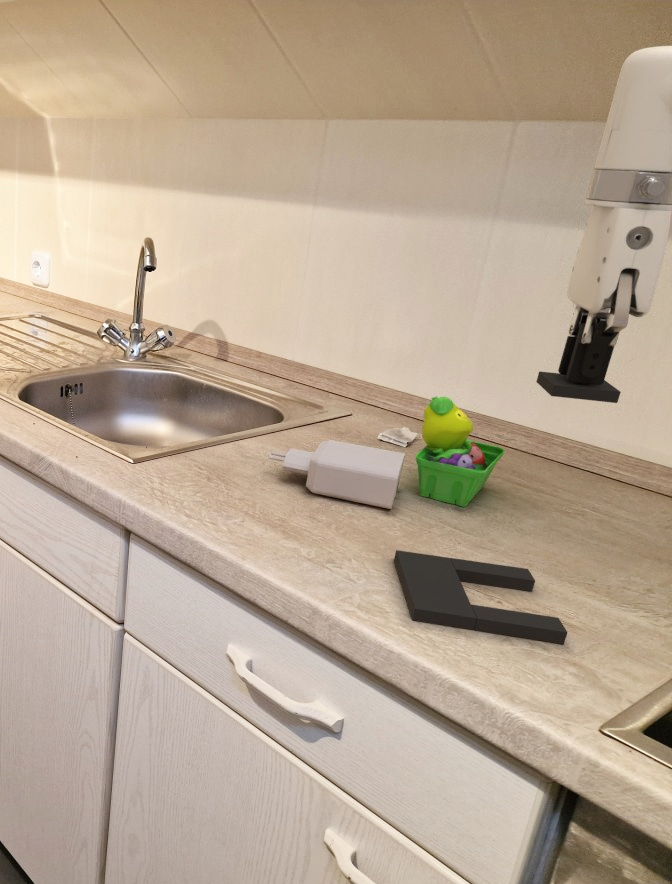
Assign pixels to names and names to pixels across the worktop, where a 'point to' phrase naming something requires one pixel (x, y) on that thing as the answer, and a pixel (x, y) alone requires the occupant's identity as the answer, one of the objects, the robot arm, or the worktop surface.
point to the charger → (348, 471)
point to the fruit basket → (452, 455)
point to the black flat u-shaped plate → (446, 603)
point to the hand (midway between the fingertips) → (579, 377)
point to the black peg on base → (577, 384)
